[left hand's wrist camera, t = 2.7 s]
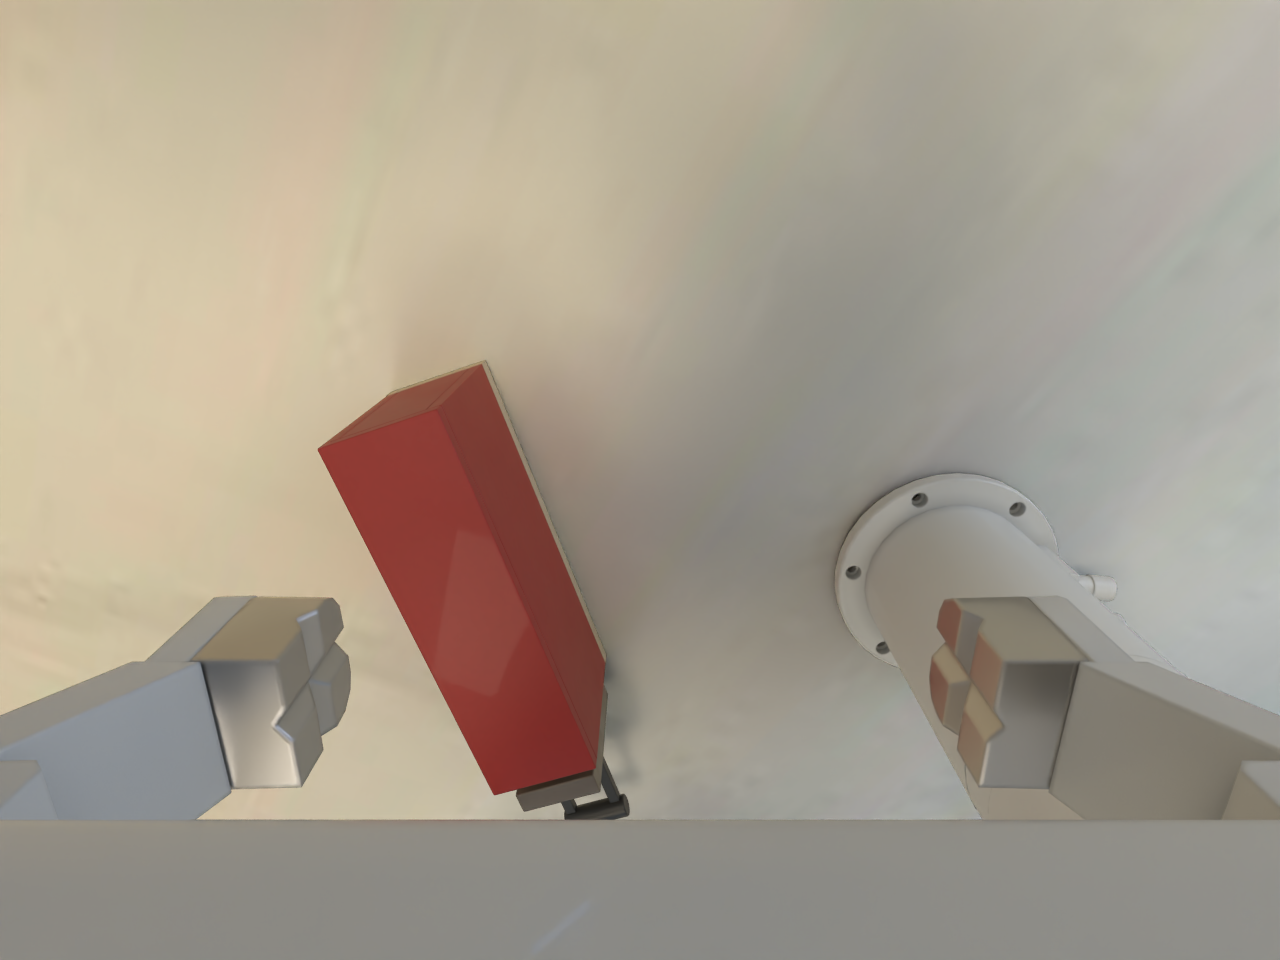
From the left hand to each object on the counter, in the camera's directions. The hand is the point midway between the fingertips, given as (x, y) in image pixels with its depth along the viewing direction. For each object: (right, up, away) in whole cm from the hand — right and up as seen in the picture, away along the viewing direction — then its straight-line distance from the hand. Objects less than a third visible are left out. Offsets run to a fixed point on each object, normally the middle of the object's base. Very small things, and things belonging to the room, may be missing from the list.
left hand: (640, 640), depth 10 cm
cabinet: (-8, -1, +33) cm, 34 cm away
